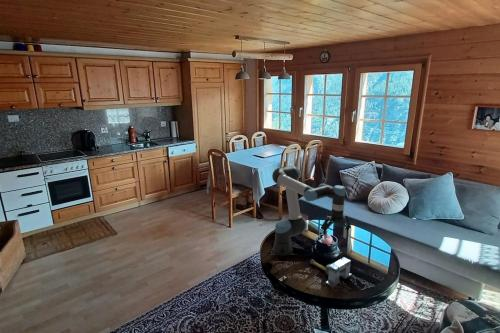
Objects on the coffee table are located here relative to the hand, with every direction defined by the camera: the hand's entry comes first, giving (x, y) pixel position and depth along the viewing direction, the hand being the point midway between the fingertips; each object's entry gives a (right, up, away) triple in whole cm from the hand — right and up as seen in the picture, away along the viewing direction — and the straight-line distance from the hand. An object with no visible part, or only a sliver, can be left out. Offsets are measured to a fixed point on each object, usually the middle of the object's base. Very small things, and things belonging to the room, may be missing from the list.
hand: (334, 238), depth 193 cm
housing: (+1, -26, -5) cm, 26 cm away
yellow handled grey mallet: (-7, -23, +5) cm, 25 cm away
